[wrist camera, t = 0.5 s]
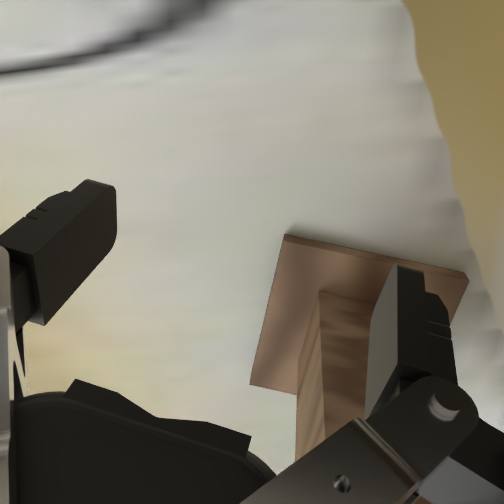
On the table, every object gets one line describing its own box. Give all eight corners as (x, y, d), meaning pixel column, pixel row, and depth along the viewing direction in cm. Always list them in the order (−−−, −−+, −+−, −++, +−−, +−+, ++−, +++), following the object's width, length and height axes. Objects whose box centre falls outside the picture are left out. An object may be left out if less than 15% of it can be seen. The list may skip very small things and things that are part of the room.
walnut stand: (232, 370, 48) (117, 882, 19) (262, 229, 41) (154, 694, 12) (423, 412, 47) (607, 1000, 18) (486, 277, 40) (935, 876, 12)
